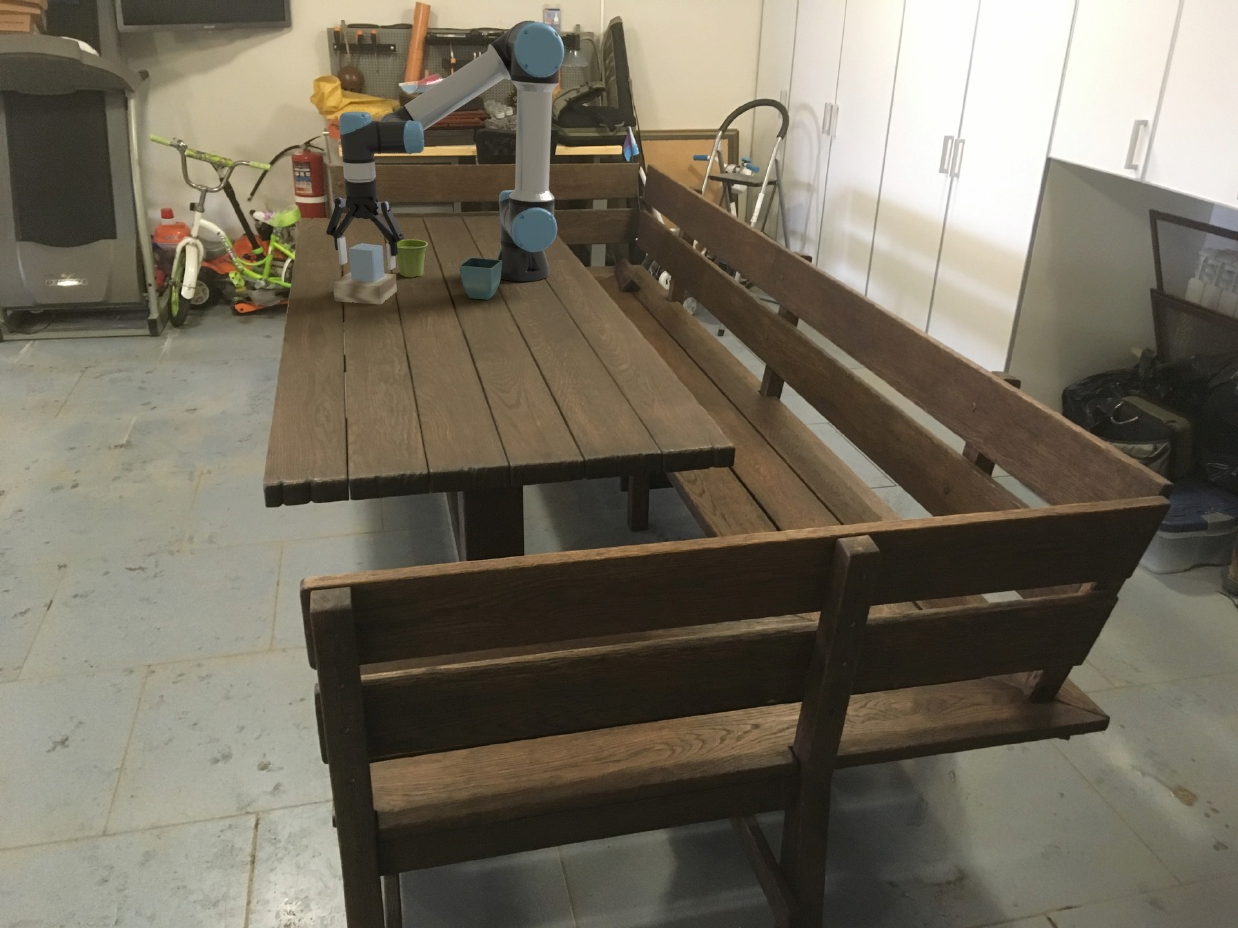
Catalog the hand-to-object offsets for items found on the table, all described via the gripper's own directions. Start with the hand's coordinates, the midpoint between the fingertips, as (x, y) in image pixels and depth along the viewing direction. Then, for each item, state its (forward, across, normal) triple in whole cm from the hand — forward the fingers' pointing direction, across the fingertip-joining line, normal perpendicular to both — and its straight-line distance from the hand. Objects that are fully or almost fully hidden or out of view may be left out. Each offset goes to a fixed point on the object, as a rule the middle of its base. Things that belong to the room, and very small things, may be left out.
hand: (367, 266), depth 249 cm
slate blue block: (+3, 0, 0) cm, 3 cm away
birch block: (+8, +1, +1) cm, 8 cm away
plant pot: (+8, -1, -22) cm, 23 cm away
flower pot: (+8, -27, -9) cm, 30 cm away
